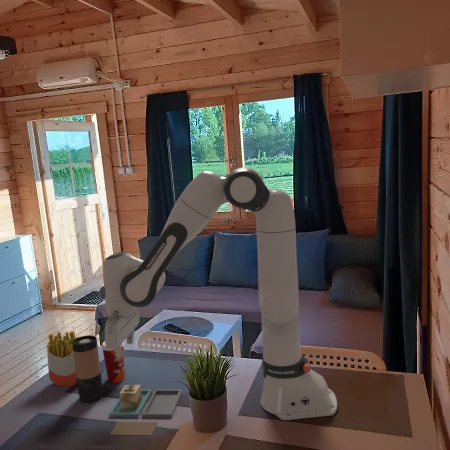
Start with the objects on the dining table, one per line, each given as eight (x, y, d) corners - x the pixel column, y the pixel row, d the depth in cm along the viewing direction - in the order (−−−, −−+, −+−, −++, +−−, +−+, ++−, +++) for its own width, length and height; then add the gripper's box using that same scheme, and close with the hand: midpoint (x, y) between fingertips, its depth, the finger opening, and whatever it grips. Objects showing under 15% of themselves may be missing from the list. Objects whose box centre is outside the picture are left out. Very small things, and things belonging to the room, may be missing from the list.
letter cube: (142, 399, 140) (140, 384, 139) (137, 408, 135) (135, 392, 134) (126, 399, 140) (125, 384, 140) (121, 408, 135) (119, 392, 135)
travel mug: (108, 396, 144) (101, 338, 141) (88, 407, 138) (80, 346, 135) (94, 389, 149) (87, 333, 146) (74, 400, 143) (66, 341, 140)
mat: (158, 424, 127) (157, 422, 127) (152, 437, 121) (151, 435, 121) (117, 423, 128) (117, 421, 128) (110, 436, 123) (109, 434, 122)
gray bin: (182, 393, 142) (182, 389, 142) (172, 419, 129) (171, 414, 129) (155, 393, 144) (155, 389, 143) (142, 418, 130) (141, 414, 130)
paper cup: (122, 386, 150) (117, 347, 148) (101, 385, 152) (96, 346, 150) (131, 374, 158) (127, 337, 156) (111, 374, 159) (107, 337, 157)
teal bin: (152, 393, 144) (152, 389, 144) (138, 418, 130) (138, 414, 130) (125, 393, 145) (125, 389, 145) (109, 418, 131) (109, 413, 131)
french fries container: (81, 385, 152) (74, 335, 150) (50, 387, 153) (43, 337, 150) (85, 379, 157) (79, 330, 154) (55, 380, 157) (49, 332, 155)
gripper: (118, 318, 122) (123, 365, 124) (141, 295, 142) (145, 336, 144) (97, 318, 123) (101, 365, 125) (122, 295, 143) (126, 336, 145)
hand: (125, 349), depth 135 cm, fingers open, 8 cm apart
